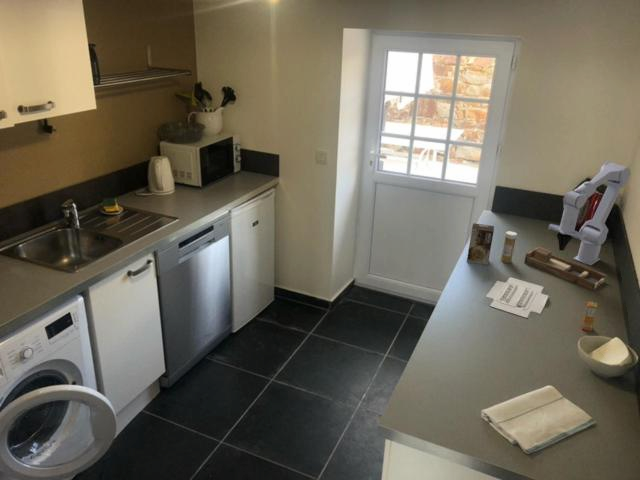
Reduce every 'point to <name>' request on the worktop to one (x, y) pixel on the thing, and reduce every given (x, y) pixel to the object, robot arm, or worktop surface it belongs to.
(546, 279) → the worktop surface
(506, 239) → the sprinkles bottle
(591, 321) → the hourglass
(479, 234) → the coffee box
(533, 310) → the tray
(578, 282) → the brown wooden open box
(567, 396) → the worktop surface
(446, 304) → the worktop surface
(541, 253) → the walnut block
